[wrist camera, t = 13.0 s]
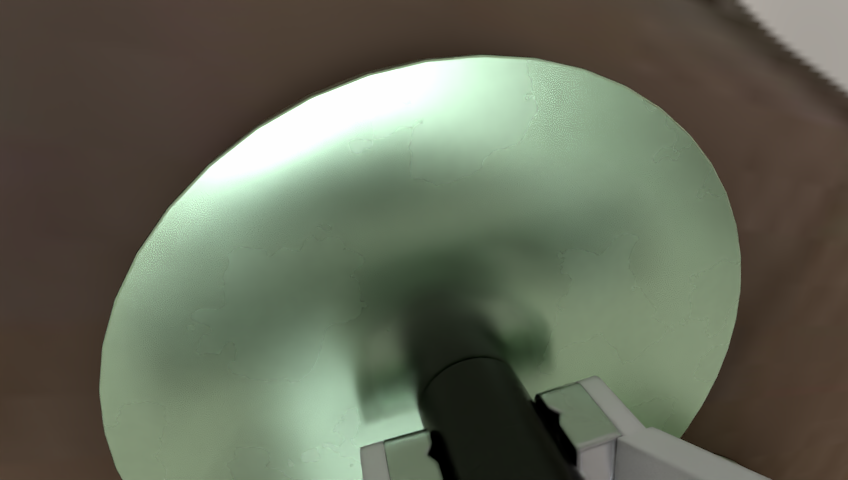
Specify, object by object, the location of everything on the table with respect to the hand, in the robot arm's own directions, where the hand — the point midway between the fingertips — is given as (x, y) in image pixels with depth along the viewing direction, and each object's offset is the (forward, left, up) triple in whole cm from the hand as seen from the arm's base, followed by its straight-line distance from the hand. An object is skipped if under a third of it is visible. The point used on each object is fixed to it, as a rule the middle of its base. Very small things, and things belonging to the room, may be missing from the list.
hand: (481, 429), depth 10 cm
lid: (0, 0, -2) cm, 2 cm away
